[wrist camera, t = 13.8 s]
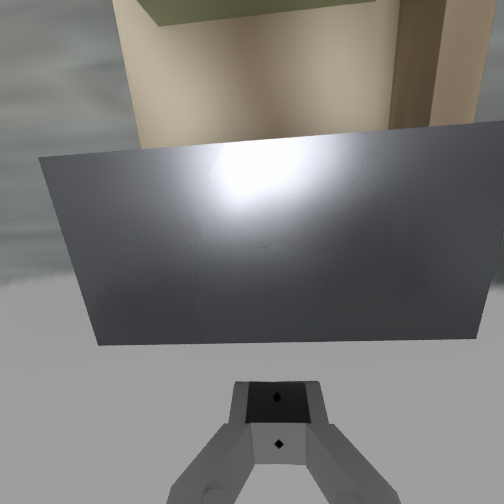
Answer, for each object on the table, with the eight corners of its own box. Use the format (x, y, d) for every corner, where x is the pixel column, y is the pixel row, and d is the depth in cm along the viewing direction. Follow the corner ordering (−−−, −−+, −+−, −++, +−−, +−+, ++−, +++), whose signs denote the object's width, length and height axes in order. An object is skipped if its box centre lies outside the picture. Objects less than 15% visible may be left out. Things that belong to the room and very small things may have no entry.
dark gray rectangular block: (360, 143, 10) (531, 118, 3) (354, 232, 11) (475, 338, 5) (181, 157, 11) (38, 157, 4) (193, 240, 12) (98, 345, 5)
